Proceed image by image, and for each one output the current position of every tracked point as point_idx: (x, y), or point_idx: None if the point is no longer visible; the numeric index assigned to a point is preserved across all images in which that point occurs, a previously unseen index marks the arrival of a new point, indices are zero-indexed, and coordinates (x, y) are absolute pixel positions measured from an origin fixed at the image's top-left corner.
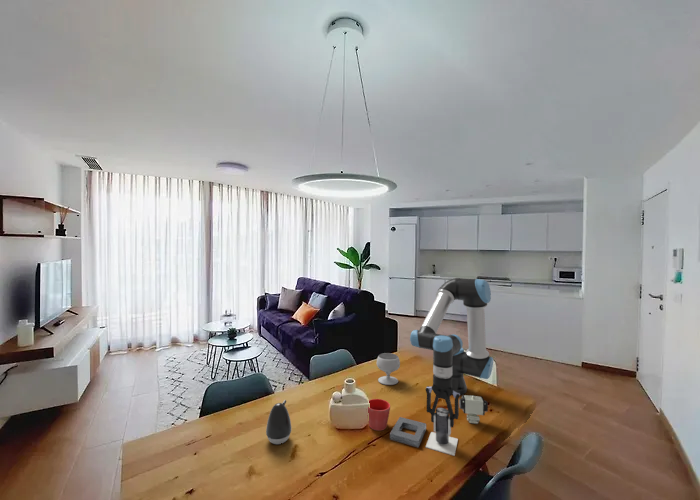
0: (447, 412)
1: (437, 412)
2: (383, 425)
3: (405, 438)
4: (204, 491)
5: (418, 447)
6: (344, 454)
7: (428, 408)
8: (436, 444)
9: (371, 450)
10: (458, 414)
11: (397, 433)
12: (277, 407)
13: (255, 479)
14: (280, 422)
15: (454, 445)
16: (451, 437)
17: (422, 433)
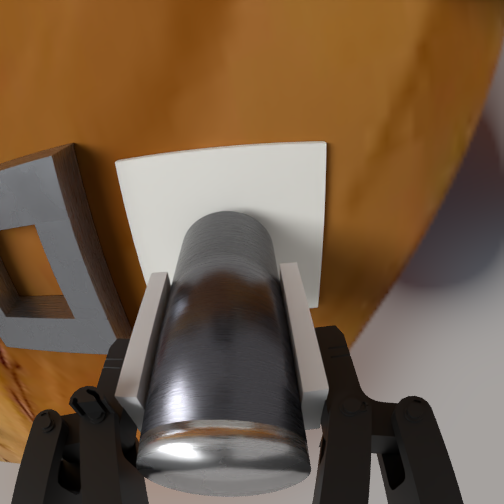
0: (294, 476)
1: (184, 490)
2: None
3: (64, 349)
4: (11, 460)
5: (131, 330)
6: (17, 407)
7: (79, 480)
8: None
9: (35, 386)
10: (430, 428)
11: (20, 337)
12: None
13: (14, 451)
14: None
15: (311, 232)
16: (276, 149)
17: (91, 270)
